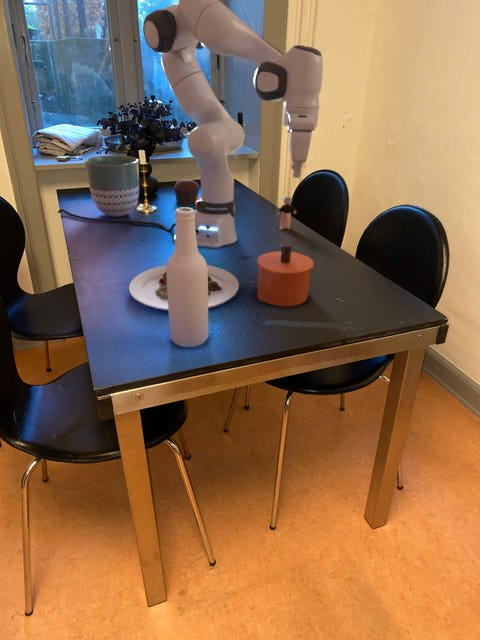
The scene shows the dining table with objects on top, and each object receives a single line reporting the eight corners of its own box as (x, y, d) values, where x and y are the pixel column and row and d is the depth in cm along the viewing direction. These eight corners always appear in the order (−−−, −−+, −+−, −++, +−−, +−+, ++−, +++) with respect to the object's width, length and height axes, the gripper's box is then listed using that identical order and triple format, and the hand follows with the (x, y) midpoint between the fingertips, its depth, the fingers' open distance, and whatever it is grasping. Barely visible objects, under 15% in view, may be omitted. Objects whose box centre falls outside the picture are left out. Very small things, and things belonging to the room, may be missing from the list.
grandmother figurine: (280, 231, 176) (282, 197, 169) (274, 228, 179) (276, 195, 172) (297, 228, 179) (299, 195, 173) (291, 225, 182) (294, 193, 176)
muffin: (169, 204, 204) (168, 181, 199) (179, 198, 213) (178, 176, 208) (194, 207, 201) (194, 183, 196) (204, 200, 210) (203, 178, 205)
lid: (256, 276, 117) (257, 254, 114) (257, 254, 130) (258, 234, 127) (315, 278, 116) (318, 256, 114) (310, 256, 129) (312, 236, 126)
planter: (117, 225, 177) (111, 167, 167) (81, 216, 186) (73, 161, 175) (152, 213, 192) (148, 159, 181) (117, 205, 201) (111, 153, 190)
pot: (256, 306, 122) (258, 273, 117) (257, 284, 134) (259, 253, 129) (308, 308, 121) (312, 275, 117) (305, 286, 133) (308, 255, 128)
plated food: (195, 328, 111) (195, 315, 110) (105, 296, 125) (104, 285, 123) (258, 284, 134) (259, 273, 132) (176, 261, 147) (176, 251, 146)
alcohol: (212, 345, 105) (211, 214, 90) (173, 350, 102) (165, 217, 88) (203, 326, 112) (201, 202, 97) (167, 331, 110) (159, 205, 95)
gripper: (287, 113, 129) (283, 165, 136) (289, 122, 112) (284, 181, 118) (310, 114, 129) (304, 166, 136) (316, 124, 111) (309, 182, 118)
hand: (295, 173), depth 127 cm, fingers open, 8 cm apart
